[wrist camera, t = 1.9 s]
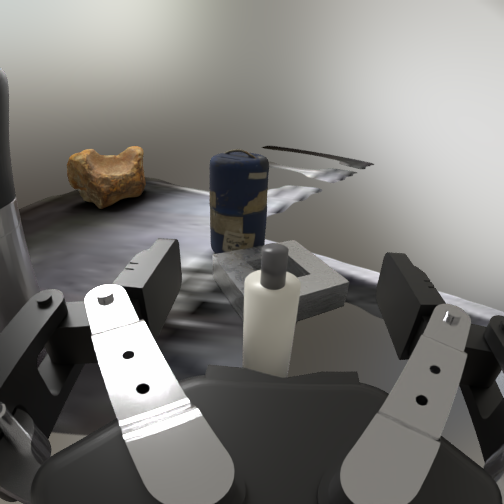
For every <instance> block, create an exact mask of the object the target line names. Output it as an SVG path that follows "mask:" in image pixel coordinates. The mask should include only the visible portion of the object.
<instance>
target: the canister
mask: <svg viewBox="0 0 504 504" xmlns="http://www.w3.org/2000/svg"><path fill="white" fill-rule="evenodd" d="M268 172H269V162H268V159H267V158H266V157H264V156H262V155H259V154H254V153H248V152H246V151H244V150H240V149H236V150H230V151H227V152H225V153H221V154H217V155H215V156H213V157H212V158H211V160H210V229H211V247H212V249H213V251H214V252H215V253H216V254H218V253H224V252H229V251H235V250H240V249H246V248H252V247H257V246H263V245H264V242H265V229H266V216H267V190H268Z"/></svg>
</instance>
